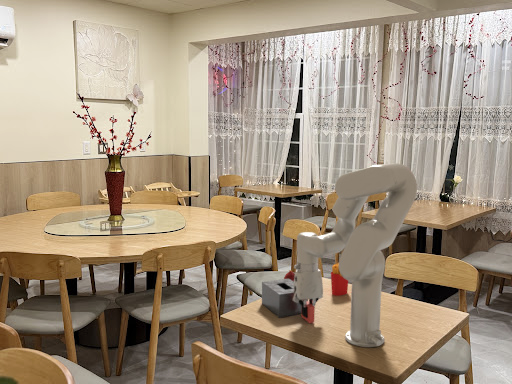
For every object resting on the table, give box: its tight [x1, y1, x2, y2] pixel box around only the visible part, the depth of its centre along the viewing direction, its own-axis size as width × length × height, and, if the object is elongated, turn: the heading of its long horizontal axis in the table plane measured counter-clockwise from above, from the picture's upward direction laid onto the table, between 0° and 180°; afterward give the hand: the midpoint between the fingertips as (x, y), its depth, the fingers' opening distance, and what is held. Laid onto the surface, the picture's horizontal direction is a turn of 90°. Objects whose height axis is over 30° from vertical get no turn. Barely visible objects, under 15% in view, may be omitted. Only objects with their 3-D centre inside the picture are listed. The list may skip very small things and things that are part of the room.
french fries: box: [330, 262, 349, 297], centre depth 210 cm, size 9×4×13 cm, turn 122°
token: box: [301, 300, 316, 324], centre depth 180 cm, size 6×2×6 cm, turn 23°
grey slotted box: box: [261, 278, 309, 319], centre depth 192 cm, size 16×12×9 cm
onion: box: [283, 269, 295, 281], centre depth 218 cm, size 6×6×8 cm
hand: (307, 315), depth 180 cm, fingers closed on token, 1 cm apart
